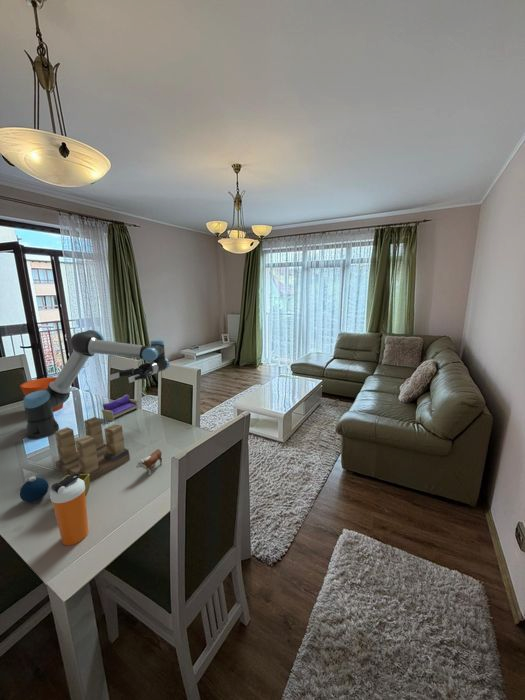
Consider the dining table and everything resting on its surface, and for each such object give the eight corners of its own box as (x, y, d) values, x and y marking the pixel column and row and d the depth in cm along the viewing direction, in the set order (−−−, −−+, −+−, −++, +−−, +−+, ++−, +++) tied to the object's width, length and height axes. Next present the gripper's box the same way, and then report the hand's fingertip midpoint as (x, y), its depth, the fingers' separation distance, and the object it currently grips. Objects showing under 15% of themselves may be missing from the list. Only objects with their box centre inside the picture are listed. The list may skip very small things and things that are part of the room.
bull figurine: (135, 478, 117) (133, 461, 116) (158, 461, 129) (156, 445, 128) (143, 481, 116) (141, 463, 114) (165, 463, 128) (164, 447, 126)
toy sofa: (112, 422, 172) (110, 406, 170) (102, 419, 176) (100, 404, 174) (139, 409, 191) (137, 395, 189) (129, 407, 194) (128, 393, 193)
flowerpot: (52, 416, 181) (47, 387, 177) (14, 417, 181) (9, 388, 177) (78, 402, 205) (74, 376, 202) (44, 402, 206) (40, 377, 202)
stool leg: (108, 457, 128) (104, 428, 125) (116, 451, 132) (113, 424, 130) (116, 459, 126) (112, 430, 123) (125, 453, 131) (121, 425, 128)
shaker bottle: (98, 528, 92) (90, 474, 88) (72, 552, 84) (62, 493, 80) (78, 522, 95) (69, 469, 91) (51, 543, 86) (40, 486, 83)
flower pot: (69, 495, 108) (66, 474, 106) (93, 494, 108) (90, 473, 107) (54, 512, 99) (50, 490, 97) (80, 511, 100) (77, 488, 98)
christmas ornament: (46, 489, 112) (42, 466, 110) (53, 498, 106) (48, 474, 104) (19, 501, 105) (14, 477, 103) (24, 511, 100) (19, 486, 98)
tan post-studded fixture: (56, 468, 125) (49, 432, 122) (99, 447, 143) (95, 415, 139) (86, 484, 114) (80, 445, 111) (130, 459, 131) (126, 425, 128)
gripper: (166, 376, 159) (138, 388, 139) (131, 373, 167) (101, 384, 148) (165, 364, 158) (137, 374, 138) (130, 361, 166) (99, 370, 146)
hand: (118, 379), depth 143 cm, fingers open, 13 cm apart
